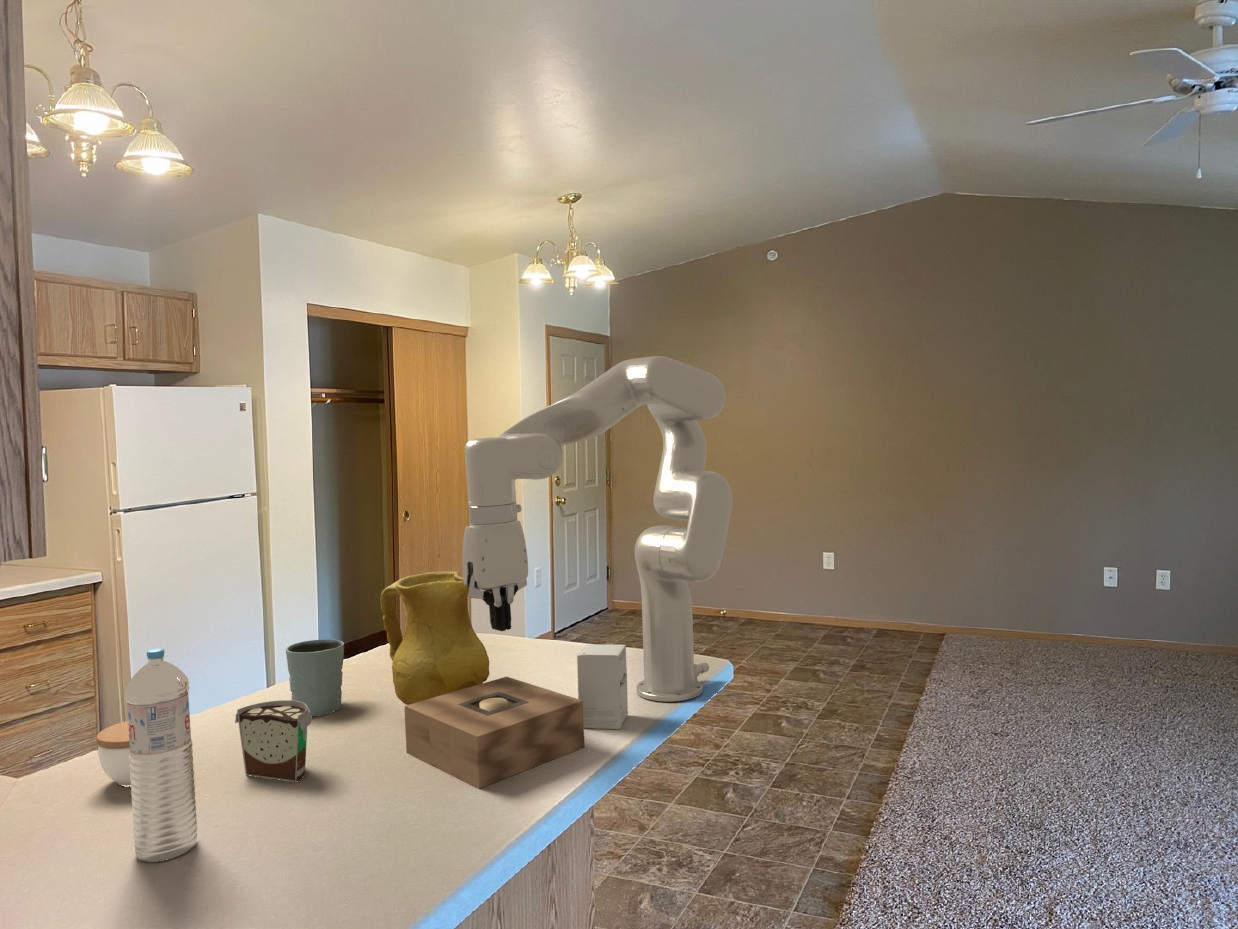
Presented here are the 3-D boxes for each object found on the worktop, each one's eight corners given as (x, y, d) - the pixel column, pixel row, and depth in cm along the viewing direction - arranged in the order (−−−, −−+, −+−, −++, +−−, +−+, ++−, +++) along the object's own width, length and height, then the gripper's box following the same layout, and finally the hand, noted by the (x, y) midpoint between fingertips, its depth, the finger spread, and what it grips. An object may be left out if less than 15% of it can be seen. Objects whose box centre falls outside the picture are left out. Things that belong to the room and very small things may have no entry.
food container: (332, 767, 126) (329, 702, 125) (304, 783, 120) (301, 716, 119) (267, 759, 130) (264, 696, 129) (237, 774, 124) (234, 709, 123)
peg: (498, 738, 133) (496, 696, 133) (514, 745, 130) (513, 701, 130) (475, 746, 130) (473, 703, 130) (491, 753, 127) (490, 709, 127)
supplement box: (621, 730, 137) (618, 655, 136) (578, 728, 138) (575, 654, 138) (629, 715, 144) (626, 643, 143) (588, 713, 145) (585, 643, 145)
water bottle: (151, 838, 105) (140, 644, 104) (207, 834, 105) (196, 641, 104) (123, 866, 98) (111, 659, 97) (183, 862, 98) (171, 656, 97)
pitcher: (423, 739, 136) (416, 589, 135) (374, 712, 150) (368, 576, 149) (510, 713, 147) (504, 574, 146) (457, 690, 161) (451, 564, 160)
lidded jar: (99, 801, 116) (95, 736, 116) (99, 775, 125) (95, 715, 125) (184, 782, 122) (180, 719, 121) (179, 759, 131) (175, 701, 131)
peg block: (508, 718, 144) (506, 676, 144) (584, 747, 130) (582, 700, 130) (406, 752, 130) (404, 705, 130) (479, 789, 116) (477, 736, 116)
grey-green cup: (276, 715, 150) (273, 650, 150) (316, 697, 160) (313, 636, 159) (320, 720, 146) (317, 654, 146) (358, 702, 156) (355, 640, 155)
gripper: (516, 508, 138) (523, 615, 139) (439, 520, 128) (448, 636, 129) (544, 510, 133) (552, 622, 134) (467, 523, 122) (476, 644, 123)
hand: (501, 628), depth 131 cm, fingers closed
